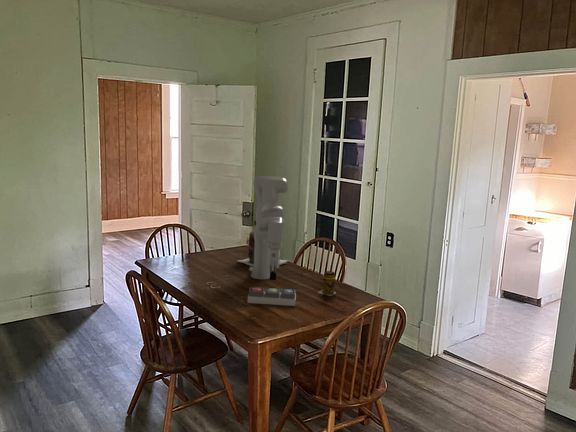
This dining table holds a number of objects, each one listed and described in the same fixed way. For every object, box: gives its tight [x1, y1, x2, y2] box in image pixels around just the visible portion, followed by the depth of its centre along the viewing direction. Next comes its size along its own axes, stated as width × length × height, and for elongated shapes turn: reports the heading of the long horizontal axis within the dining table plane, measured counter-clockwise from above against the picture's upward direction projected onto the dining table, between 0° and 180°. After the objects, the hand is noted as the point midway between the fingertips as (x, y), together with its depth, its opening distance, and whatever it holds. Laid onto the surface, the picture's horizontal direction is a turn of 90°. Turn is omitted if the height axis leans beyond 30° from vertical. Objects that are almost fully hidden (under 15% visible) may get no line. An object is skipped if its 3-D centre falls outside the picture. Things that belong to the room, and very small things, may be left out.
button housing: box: [246, 286, 297, 307], centre depth 243 cm, size 24×10×6 cm, turn 88°
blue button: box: [283, 289, 293, 294], centre depth 242 cm, size 5×5×2 cm
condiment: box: [317, 270, 337, 297], centre depth 259 cm, size 7×8×12 cm
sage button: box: [267, 288, 278, 293], centre depth 243 cm, size 5×5×2 cm
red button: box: [252, 287, 262, 292], centre depth 243 cm, size 5×5×2 cm
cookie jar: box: [236, 219, 288, 268], centre depth 309 cm, size 25×25×32 cm
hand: (272, 279), depth 242 cm, fingers closed
